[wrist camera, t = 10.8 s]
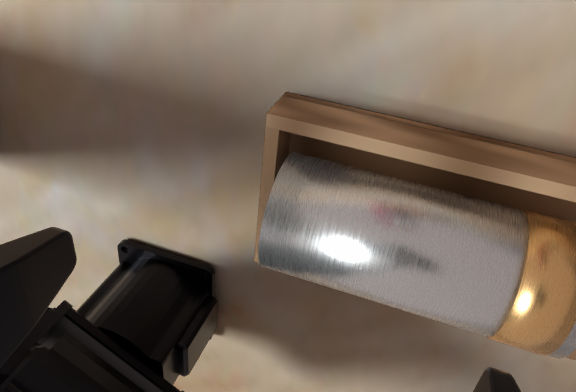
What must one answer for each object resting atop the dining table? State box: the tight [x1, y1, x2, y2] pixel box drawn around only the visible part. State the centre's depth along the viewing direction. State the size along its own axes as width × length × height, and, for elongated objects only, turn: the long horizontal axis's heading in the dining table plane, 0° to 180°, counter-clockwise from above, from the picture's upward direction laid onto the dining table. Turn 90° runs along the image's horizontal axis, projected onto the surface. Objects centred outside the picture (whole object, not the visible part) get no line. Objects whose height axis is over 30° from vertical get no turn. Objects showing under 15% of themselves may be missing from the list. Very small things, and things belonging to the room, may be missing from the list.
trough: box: [254, 92, 576, 360], centre depth 21 cm, size 15×8×2 cm, turn 85°
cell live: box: [258, 152, 576, 359], centre depth 20 cm, size 13×5×5 cm, turn 85°
